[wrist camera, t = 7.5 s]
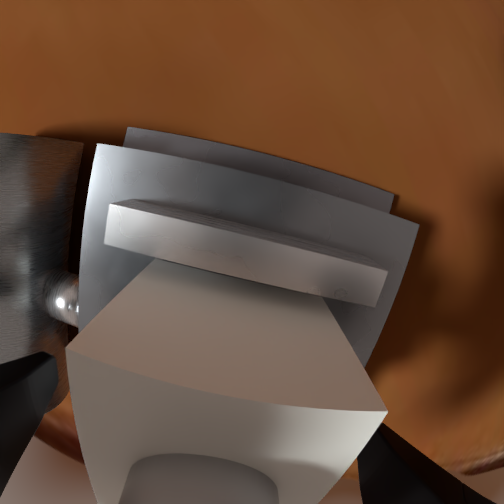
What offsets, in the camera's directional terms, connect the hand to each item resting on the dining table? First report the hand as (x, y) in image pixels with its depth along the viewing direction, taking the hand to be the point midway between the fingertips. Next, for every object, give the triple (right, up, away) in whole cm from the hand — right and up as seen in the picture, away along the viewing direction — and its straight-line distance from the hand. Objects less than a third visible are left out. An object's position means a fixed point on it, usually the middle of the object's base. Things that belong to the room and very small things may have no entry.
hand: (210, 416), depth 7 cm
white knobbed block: (0, +1, +2) cm, 2 cm away
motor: (-4, +3, +7) cm, 8 cm away
